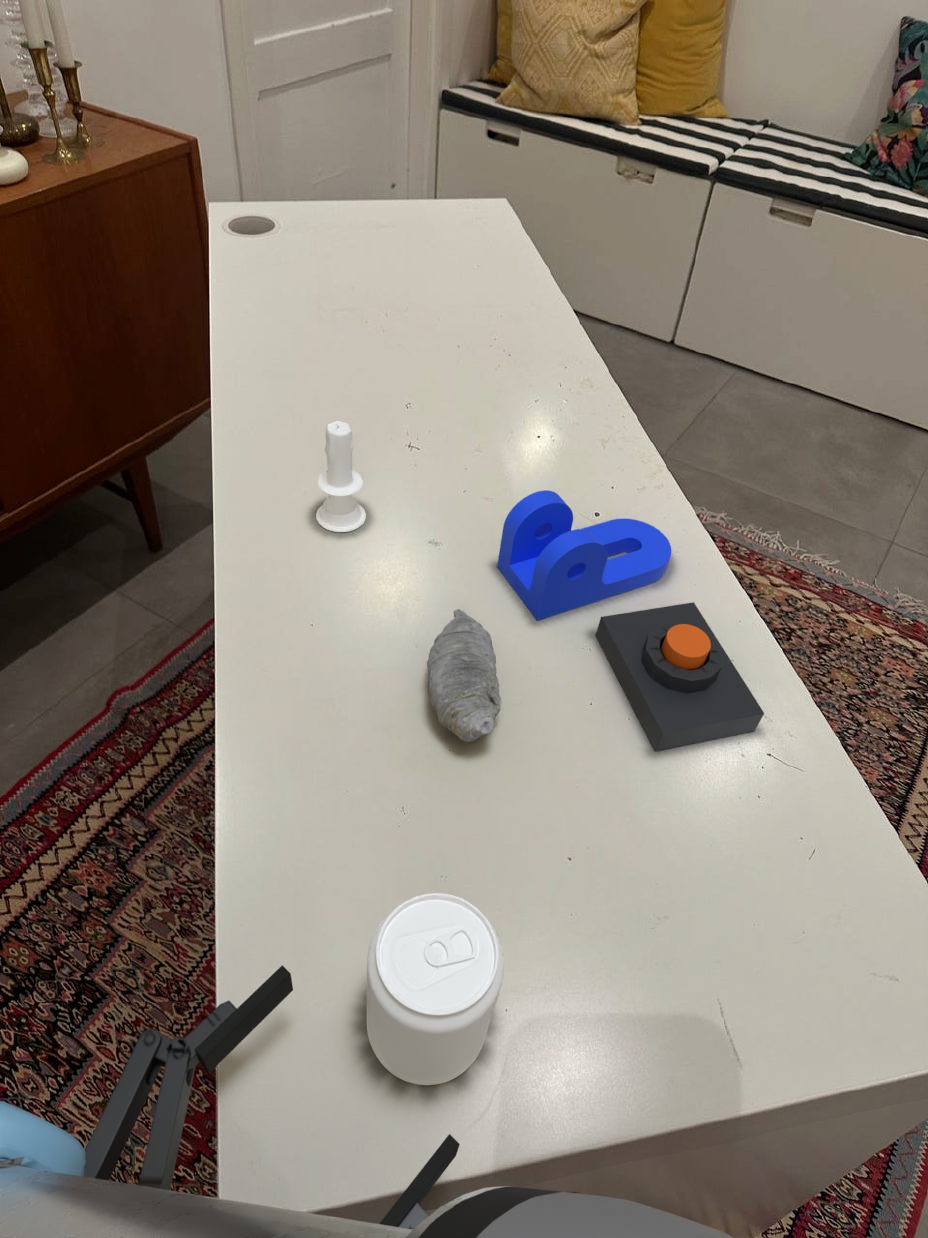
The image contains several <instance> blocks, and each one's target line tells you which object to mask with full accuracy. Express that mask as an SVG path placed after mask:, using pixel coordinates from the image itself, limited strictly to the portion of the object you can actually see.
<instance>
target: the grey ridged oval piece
mask: <svg viewBox="0 0 928 1238" xmlns="http://www.w3.org/2000/svg"><path fill="white" fill-rule="evenodd" d="M496 663H497V656H496V654H495V651H494V646H493V640H492V637H491V634H490V633H489V631H487V629H485V628H484V627H483V625H482V624H481V623H480V622H479V621H477V620H476V619H474V618H473V617H471V616H469V615H468V614H467V612H465V611H463V610H461V609H459V608H457V609H455V610H453V618H452V619H451V620H450V621H449V622H448V623H447V624H446V625H445V626H444V628H443V629H442V631H441V632H440V633H439V634H438V635H437V636H436V637H435V638H434V641H433V645H432V646H431V647H430V650H429V653H428V659H427V661H426V667H427V673H428V676H429V677H428V681H427V682H428V683H427V684H428V685H427V687H428V690H429V692H428V697H429V698H428V702H429V703H430V704H431V705H432V707H433V710H434V711H435V713H436V715H437V719H438V722H439V723H440V725H442V726H443V727H444V728H446V729H448V730H449V731H450V732H452V733H453V734H454V735H455V736H457V737H458V739H460V740H461V741H463V742H466V743H469V742H470V743H472V742H474V741H475V740H478V739H479V738H481V737H483V736H486V735H488V734H491V733H493V732H494V730H495V727H496V726H495V718H496V717H497V716H498V715H499V713H500V711H501V706H502V705H501V703H502V701H501V700H502V698H501V694H500V689H499V687H500V683H499V678H498V676H497V673H498V671H497V666H496V665H497V664H496Z"/></svg>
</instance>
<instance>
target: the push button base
mask: <svg viewBox="0 0 928 1238" xmlns="http://www.w3.org/2000/svg"><path fill="white" fill-rule="evenodd" d="M679 624H688V625H692V626H695V627H697V628H699V629H701V630H702V631H703V632H705V633H706V635H707V636H708V637H709V639H710V642H711V648H710V651H709V653H708V655H707V657H706V660H705V662H704V663H703V665H702V666H700V667H698V668H696V669H691V670H687V669H683V668H679V667H676V666H674V665H673V664H671V663H670V662H668V661H667V660H666V658H665V657H664V655H663V653H662V645H663V642H664V640H665V637H666V634H667V632H668V630H669V629H670V628H671V627H673V626H675V625H679ZM595 637H596V639H597V642H598V643H599V645H600V647H601V649H602V651H603V653H604V655H605V657H606V659H607V660H608V663H609V664H610V666H611V668H612V670H613V673H614V674H615V676H616V678H617V681H618V682H619V684H620V686H621V688H622V690H623V693H625V696H626V698H627V699H628V701H629V703H630V705H631V708H632V709H633V712H634V713H635V715H636V717H637V720H638V721H639V723H640V725H641V728H642V729H643V731H644V732H645V734H646V737H647V739H648V740H649V742H650V744H651V747H652V749H653V750H654V752H659V751H664V750H669V749H673V748H679V747H683V746H689V745H693V744H698V743H703V742H708V741H709V742H710V741H713V740H717V739H723V738H728V737H732V736H738V735H743V734H748V733H752V732H755V731H756V729H757V727H758V726H759V724H760V722H761V720H762V718H763V717H764V715H765V712H764V711H763V709H762V707H761V706H760V704H759V703H758V700H757V699H756V698H755V696H754V694H753V693H752V691H751V690H750V688H749V687H748V685H747V683H746V682H745V680H744V679H743V677H742V675H741V674H740V673H739V671H738V669H737V668H736V666H735V664H734V663H733V662H732V660H731V658H730V657H729V655H728V654H727V651H726V650H725V649H724V647H723V646H722V644H721V643H720V641H719V639H718V638H717V637H716V635H715V633H714V632H713V630H712V628H711V626H710V625H709V624H708V622H707V620H706V619H705V618H704V616H703V614H702V613H701V611H700V610H699V608H698V607H697V605H696V603H695V601H693V602H686V603H681V604H680V603H679V604H673V605H668V606H661V607H656V608H655V607H654V608H647V609H642V610H636V611H629V612H623V613H615V614H611V615H604V616H600V619H599V623H598V626H597V629H596V633H595Z"/></svg>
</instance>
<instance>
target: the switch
mask: <svg viewBox="0 0 928 1238" xmlns="http://www.w3.org/2000/svg"><path fill="white" fill-rule="evenodd" d="M710 648H711V642H710V639H709V637H708V636H707V635H706V633H705V632H703V631H702V630H701V629H699V628H697V627H695V626H692V625H688V624H679V625H675V626H673V627H671V628H670V629H669V630H668V632H667V634H666V637H665V640H664V642H663V645H662V653H663V655H664V657H665V658H666V660H667V661H668V662H670V663H671V664H673V665H674V666H676V667H679V668H683V669H687V670H691V669H696V668H698V667H700V666H702V665H703V663H704V662H705V660H706V657H707V655H708V653H709V651H710Z"/></svg>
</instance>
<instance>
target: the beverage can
mask: <svg viewBox="0 0 928 1238" xmlns="http://www.w3.org/2000/svg"><path fill="white" fill-rule="evenodd" d="M504 975H505V958H504V951H503V946H502V943H501V940H500V938H499V935H498V933H497V931H496V930H495V928H494V926H493V925H492V923H491V922H490V921H489V920H488V918H487V917H486V915H484V913H483V912H481V910H480V909H479V908H478V907H476V906H475V905H474V904H472V903H471V902H469V901H467V900H466V899H464V898H461V897H460V896H457V895H453V894H450V893H442V892H430V893H424V894H419V895H417V896H413V897H411V898H409V899H407V900H406V901H404V902H402V903H401V904H399V905H398V906H397V907H395V908H394V909H392V910H391V911H390V912H389V913H388V914H387V915H386V916H385V917H384V918H383V919H382V921H381V922H380V923H379V925H378V926H377V927H376V929H375V931H374V933H373V936H372V938H371V941H370V943H369V946H368V951H367V959H366V1031H367V1036H368V1037H367V1038H368V1041H369V1044H370V1046H371V1049H372V1052H373V1053H374V1055H375V1056H376V1059H378V1061H379V1062H380V1064H381V1065H382V1066H383V1067H384V1068H385V1069H386V1070H387V1071H388V1072H390V1073H391V1074H392V1075H394V1076H395V1077H396V1078H398V1079H399V1080H402V1081H404V1082H407V1083H410V1084H414V1085H418V1086H434V1085H439V1084H443V1083H447V1082H449V1081H452V1080H454V1079H456V1078H457V1077H459V1076H461V1075H463V1073H464V1072H465V1071H467V1070H468V1069H469V1068H470V1067H471V1066H472V1065H473V1063H474V1062H475V1061H476V1059H477V1058H478V1057H479V1055H480V1053H481V1051H482V1048H483V1046H484V1044H485V1042H486V1041H485V1040H486V1038H487V1034H488V1032H489V1028H490V1025H491V1021H492V1018H493V1015H494V1011H495V1007H496V1004H497V1002H498V998H499V995H500V991H501V988H502V984H503V980H504Z"/></svg>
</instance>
